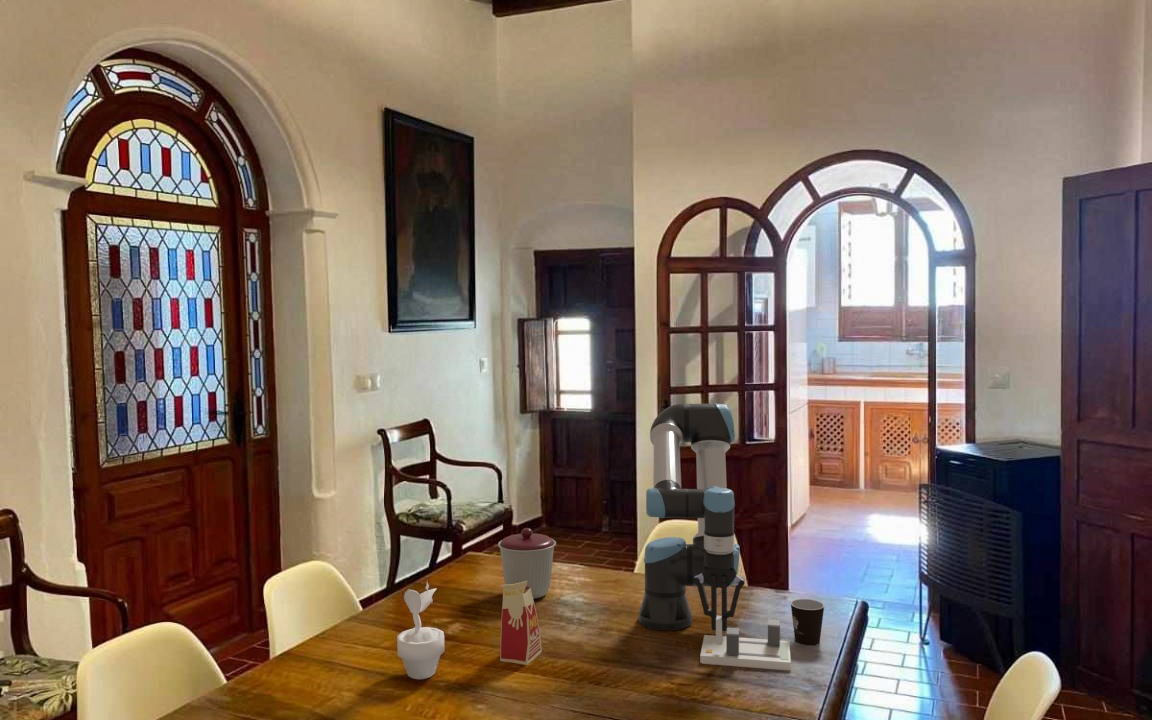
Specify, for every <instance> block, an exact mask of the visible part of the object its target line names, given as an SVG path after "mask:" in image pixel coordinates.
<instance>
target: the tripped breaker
mask: <svg viewBox="0 0 1152 720" xmlns="http://www.w3.org/2000/svg"><path fill="white" fill-rule="evenodd" d="M725 636H726V654H727V655H739V637H740V628H738V627H727V630H726V635H725Z"/></svg>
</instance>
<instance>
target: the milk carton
mask: <svg viewBox="0 0 1152 720" xmlns="http://www.w3.org/2000/svg"><path fill="white" fill-rule="evenodd" d="M500 587H501V588H502V606H501V607H502V608H501V621H500V640H499V641H500V646H499V648H500V652H499V653H500V654H499V661H500V662H504V663H512V664H513V663H514V664H519V665H523V666H528V665H529V664H530V663H531V662H532V661H534V660H535V659H536V658H537V657H538V656H539V655H540V654H541V653H542V651H543V650H542V640H541V631H540V625H539V621H538V620H539V619H538V614H537V609H536V604H535V601H534V600H535V599H533V596H532V592H531V588H530V587H528V586H527V581H524V582H520V583H516V584H508V585H505V584H500Z"/></svg>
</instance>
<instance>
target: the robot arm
mask: <svg viewBox="0 0 1152 720" xmlns="http://www.w3.org/2000/svg"><path fill="white" fill-rule="evenodd" d="M649 430H650V432H649V434H650V435H649V440H650V442H651V444H652V445H653V483H652V484H653V487H652V488H648V489H647V490H646V493H645V494H646V495H645V498H646V499H645V500H646V501H645V504H646V505H645V506H646V507H645V511H646V515H647V516H648V517H650V518H660V519H675V518H676V519H686V518H687V519H697V533H696V534H695V535H694V536H693V537H692V543H691V544H690V543H687V542H686V540H685V539H684V538H682V537H678V536H676V537H675V536H669V537H661V538H657V539H654V540H651V541H650V542H648V543H647V544H646V546H645V548H644V559H643V562H644V595H643V599H642V602H641V604H640V608H639V611H638V622H639V624H640V625H641V626H643V627H644V628H648V629H651V630H656V631H679V630H683V629H687V628H688V627H690V626H691V625H692V624H693V614H692V611H691V607H690V603H689V601H688V598H687V594H686V590H687V589H686V588H687V587H696V588H697V590H698V593H699V594H698V595H699V598H700V599H699V600H700V602H701V606H702V609H703V610H702V611H703V614H704V616H708V617H710V618H711V631H715V636H716V645H722V642H723V636H724V635H723V634H724V633H723V632H727V628H728V619H729V618H733V617H734V616H735V613H736V608H737V605H738V600H739V596H740V593H741V590H742V588H743V587H744V585H745V582H746V579H745V578H744V577H740V576H739V574H738V573H739V567H740V566H739V563H740V554H741V553H740V550H741V549H740V545H739V544H737V543H735V507H736V504H735V503H736V502H735V493H734V491H733V490H732V489H730V488H727V466H726V465H727V463H726V453H727V452H728V451H729V450H730V449H731V443H734V442H735V441H736V440H735V439H736V433H735V424H734V418H733V414H732V409H731V408H730V406H728V405H727V404H725V403H724V404H723V403H715V402H713V403H676V404H673V405H670V406H668V407H667V408H665V409H663V410H662V411H661V412H660V413H658V414H657V416H656V417H655V418H654V420H653V422H652V424H651V426H650V429H649ZM682 443H690V449H691V450H693V452H694V453H695V454H696V455H695V457H696V458H695V459H696V488H682V472H681V471H682V470H681V449H680V448H681V444H682ZM732 586H735V588H734V592H733V596H732V601H731V604H730V609H729V610H728V588H729V587H732ZM705 587H706V588H707V587H708V588H709V587H710V592H711V593H710V597H711V598H710V599H711V600H710V601H711V603H710V604H711V606H709V601H708V597H707V594H706V589H705ZM718 589H720V590H721V615H717V614H718V613H717V612H718V606H717V605H718V596H717V595H718V592H717V590H718ZM710 607H711V608H710Z"/></svg>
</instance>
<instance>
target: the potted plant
mask: <svg viewBox="0 0 1152 720" xmlns="http://www.w3.org/2000/svg"><path fill="white" fill-rule="evenodd" d="M429 587H430V584H429V583H428V581H426V585H425V588H424V589H426V590H425V591H423V592H421V593H419V592H418V591H416V590H414V589H407V590H406V591H405V592H404V596H403V600H404V602H405V604H406V606H407V607H408V609H409V612H410V613H411V614H412V619H413V623H414V627H413V628H410V629H407V630H402V631H401V632H400V633H399V634H398V635H397V636H396V637H397V638H396V639H397V640H396V642H397V645H396V646H397V656H398V657H399V658H401V660H402V663H403V666H404V668H405V671H406V674H407V676H408V677H409V678H411V679H414V680H426V679H428V678H429V679H430V678H431V677H432V676H433V675H435V674H436V671H437V667H438V665H439V661H440V659H441V655H442V654H444V652H445V633H444V631H443V630H441V629H439V628H437V627H429V626H425V627H424V626H423V627H422V622H421V621H422V620H421V617H420V615H419V614H420V613H422V612H424V611H425V610H426V609H427V608H428V606H430V605H431V604H433V601H434V600H433V594H434V593H435V592H436V591H437V588H436V587H435V588H432V589H429Z"/></svg>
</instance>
